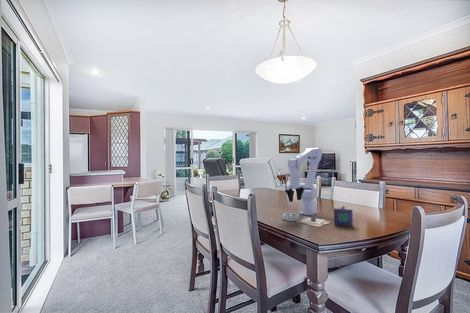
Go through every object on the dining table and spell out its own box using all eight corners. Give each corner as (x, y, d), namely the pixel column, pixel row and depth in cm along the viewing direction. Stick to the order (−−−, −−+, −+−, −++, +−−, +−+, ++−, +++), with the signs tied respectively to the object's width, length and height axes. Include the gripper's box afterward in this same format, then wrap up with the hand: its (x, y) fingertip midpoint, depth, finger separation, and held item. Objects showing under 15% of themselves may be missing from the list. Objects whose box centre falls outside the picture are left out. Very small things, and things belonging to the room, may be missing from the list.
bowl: (290, 216, 155) (289, 212, 155) (302, 219, 148) (302, 214, 148) (280, 219, 149) (280, 214, 149) (292, 222, 142) (292, 217, 142)
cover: (308, 218, 148) (307, 211, 148) (325, 220, 142) (325, 213, 142) (301, 222, 140) (301, 214, 140) (319, 225, 134) (319, 217, 134)
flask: (352, 225, 134) (352, 205, 134) (353, 227, 131) (353, 206, 131) (333, 224, 136) (333, 204, 136) (334, 225, 134) (334, 205, 133)
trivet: (310, 217, 151) (310, 217, 151) (332, 222, 140) (332, 221, 140) (296, 222, 142) (296, 221, 142) (317, 227, 131) (317, 226, 131)
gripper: (296, 177, 159) (297, 198, 159) (281, 178, 149) (281, 201, 149) (306, 177, 153) (306, 200, 153) (291, 179, 144) (291, 203, 144)
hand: (295, 200), depth 151 cm, fingers open, 7 cm apart
